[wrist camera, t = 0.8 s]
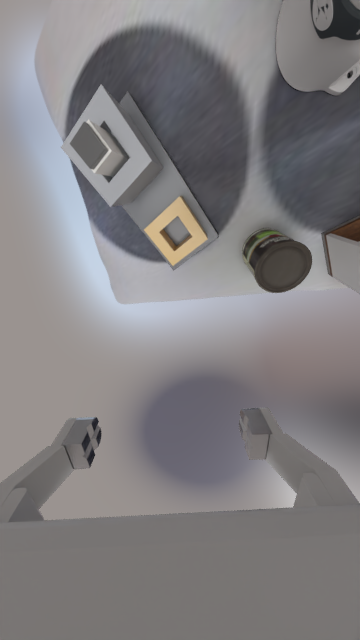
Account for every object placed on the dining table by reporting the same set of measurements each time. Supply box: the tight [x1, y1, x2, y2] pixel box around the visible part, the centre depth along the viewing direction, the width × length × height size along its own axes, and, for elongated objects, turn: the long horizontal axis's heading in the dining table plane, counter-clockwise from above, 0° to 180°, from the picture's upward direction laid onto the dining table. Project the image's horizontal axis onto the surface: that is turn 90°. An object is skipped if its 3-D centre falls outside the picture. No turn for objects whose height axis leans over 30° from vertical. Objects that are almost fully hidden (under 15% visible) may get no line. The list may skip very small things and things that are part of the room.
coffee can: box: [242, 228, 312, 293], centre depth 43 cm, size 10×10×14 cm
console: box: [61, 85, 219, 270], centre depth 38 cm, size 14×30×14 cm, turn 38°
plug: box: [70, 119, 130, 177], centre depth 28 cm, size 4×4×10 cm
